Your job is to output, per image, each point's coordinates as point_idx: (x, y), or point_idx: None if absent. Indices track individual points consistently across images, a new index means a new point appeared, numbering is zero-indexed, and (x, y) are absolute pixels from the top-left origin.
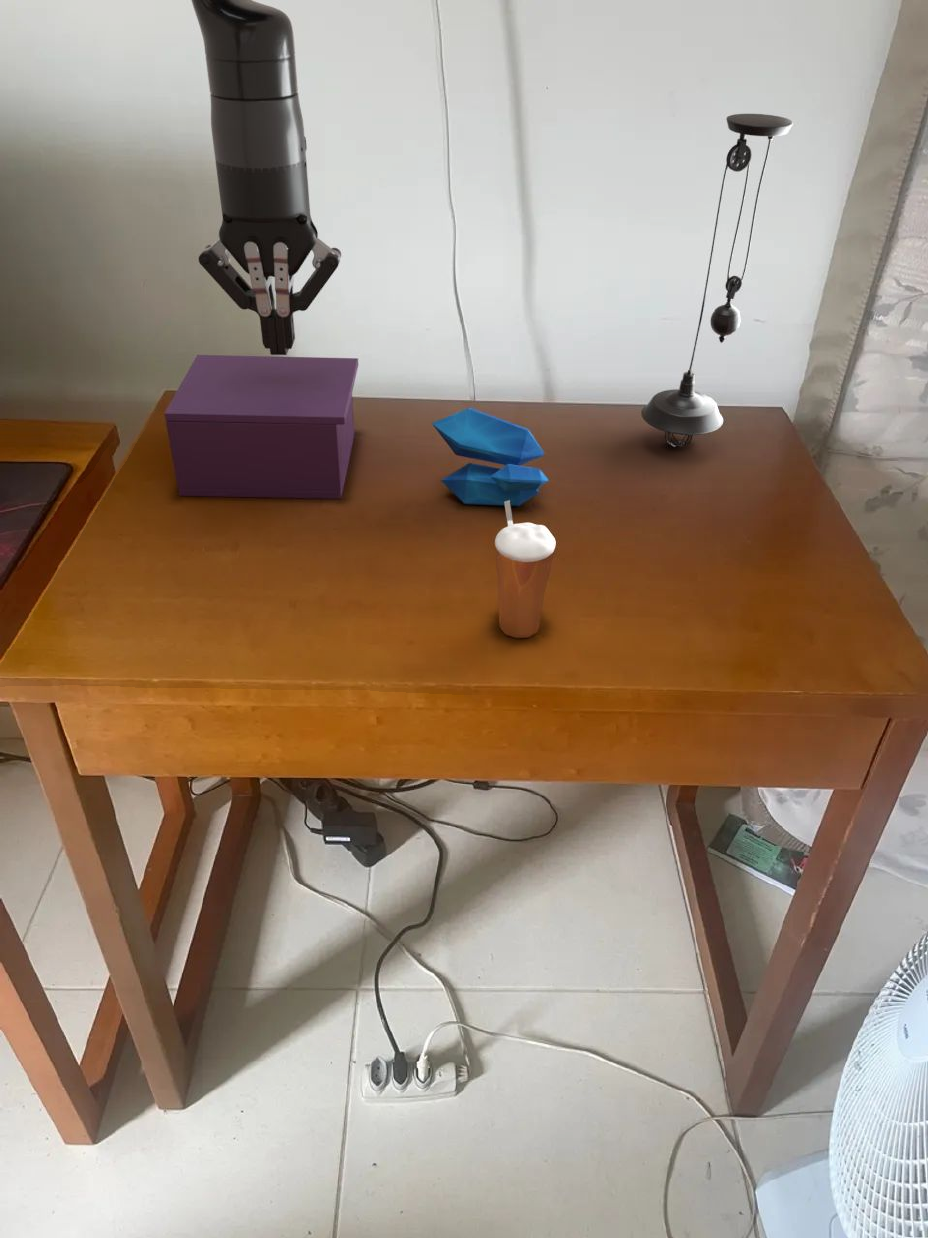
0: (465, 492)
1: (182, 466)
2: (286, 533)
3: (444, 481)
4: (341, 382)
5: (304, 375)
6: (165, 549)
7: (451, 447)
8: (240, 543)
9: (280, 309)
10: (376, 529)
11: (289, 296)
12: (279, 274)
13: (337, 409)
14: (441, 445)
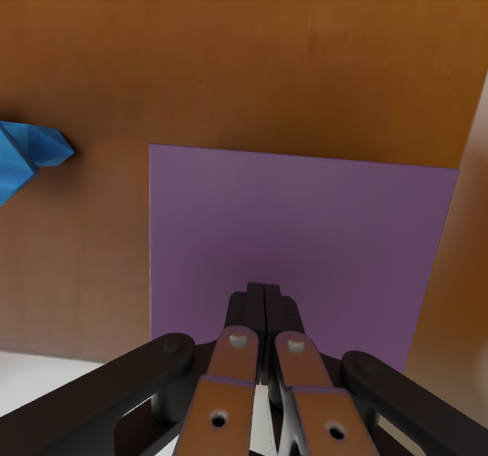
0: (46, 127)
1: None
2: (255, 73)
3: (70, 149)
4: (167, 275)
5: (227, 302)
6: (394, 39)
7: (32, 162)
8: (307, 51)
9: (245, 339)
10: (153, 78)
11: (207, 370)
12: (223, 447)
13: (163, 173)
14: (97, 266)
